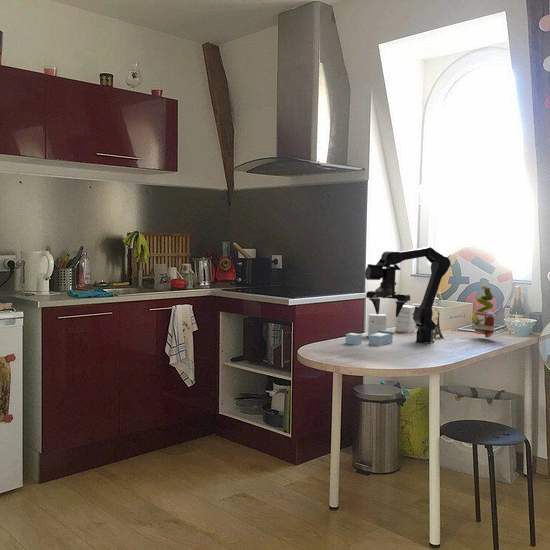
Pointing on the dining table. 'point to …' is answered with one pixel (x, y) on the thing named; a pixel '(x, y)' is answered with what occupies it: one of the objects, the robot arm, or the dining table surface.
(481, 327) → the prank snake can
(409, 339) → the dining table surface
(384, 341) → the blue notched block
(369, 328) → the small box
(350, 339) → the light blue block
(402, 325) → the white tall block
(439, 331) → the eiffel tower figurine
